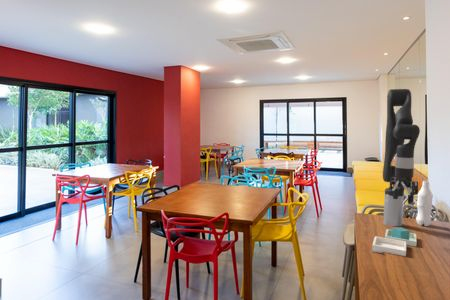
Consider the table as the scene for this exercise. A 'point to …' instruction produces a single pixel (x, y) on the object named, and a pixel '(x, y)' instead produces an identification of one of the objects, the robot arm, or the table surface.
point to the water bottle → (424, 205)
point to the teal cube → (400, 233)
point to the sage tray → (410, 242)
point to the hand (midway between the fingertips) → (402, 200)
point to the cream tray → (389, 246)
